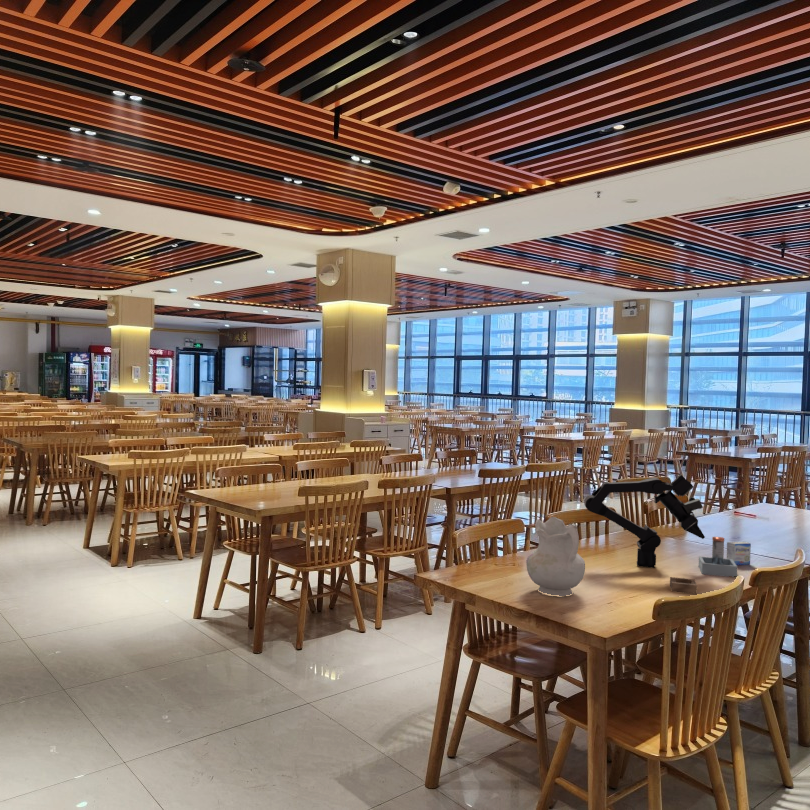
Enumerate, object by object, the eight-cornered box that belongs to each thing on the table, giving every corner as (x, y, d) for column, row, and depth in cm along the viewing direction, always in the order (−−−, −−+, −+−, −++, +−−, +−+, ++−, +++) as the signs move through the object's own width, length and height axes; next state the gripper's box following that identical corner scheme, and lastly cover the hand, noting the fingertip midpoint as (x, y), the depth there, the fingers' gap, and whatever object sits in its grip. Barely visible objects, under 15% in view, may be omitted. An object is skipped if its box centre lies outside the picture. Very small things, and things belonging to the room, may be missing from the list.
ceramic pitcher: (601, 601, 230) (607, 525, 231) (558, 605, 219) (565, 525, 220) (553, 585, 248) (559, 514, 249) (512, 588, 238) (518, 514, 238)
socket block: (671, 591, 240) (671, 582, 239) (669, 585, 247) (670, 577, 247) (696, 594, 237) (697, 585, 237) (694, 587, 245) (694, 579, 245)
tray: (702, 574, 264) (702, 563, 264) (698, 566, 276) (698, 556, 276) (736, 577, 261) (737, 566, 261) (731, 569, 272) (732, 559, 272)
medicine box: (733, 565, 278) (734, 544, 278) (725, 562, 283) (726, 541, 282) (750, 564, 281) (751, 543, 280) (742, 562, 285) (743, 540, 285)
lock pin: (722, 571, 265) (723, 539, 265) (710, 569, 268) (711, 537, 267) (724, 568, 269) (725, 537, 268) (712, 567, 271) (713, 536, 271)
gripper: (692, 494, 261) (723, 526, 259) (687, 488, 279) (716, 518, 276) (668, 513, 264) (699, 545, 261) (665, 506, 282) (693, 536, 279)
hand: (702, 535), depth 269 cm, fingers open, 9 cm apart
